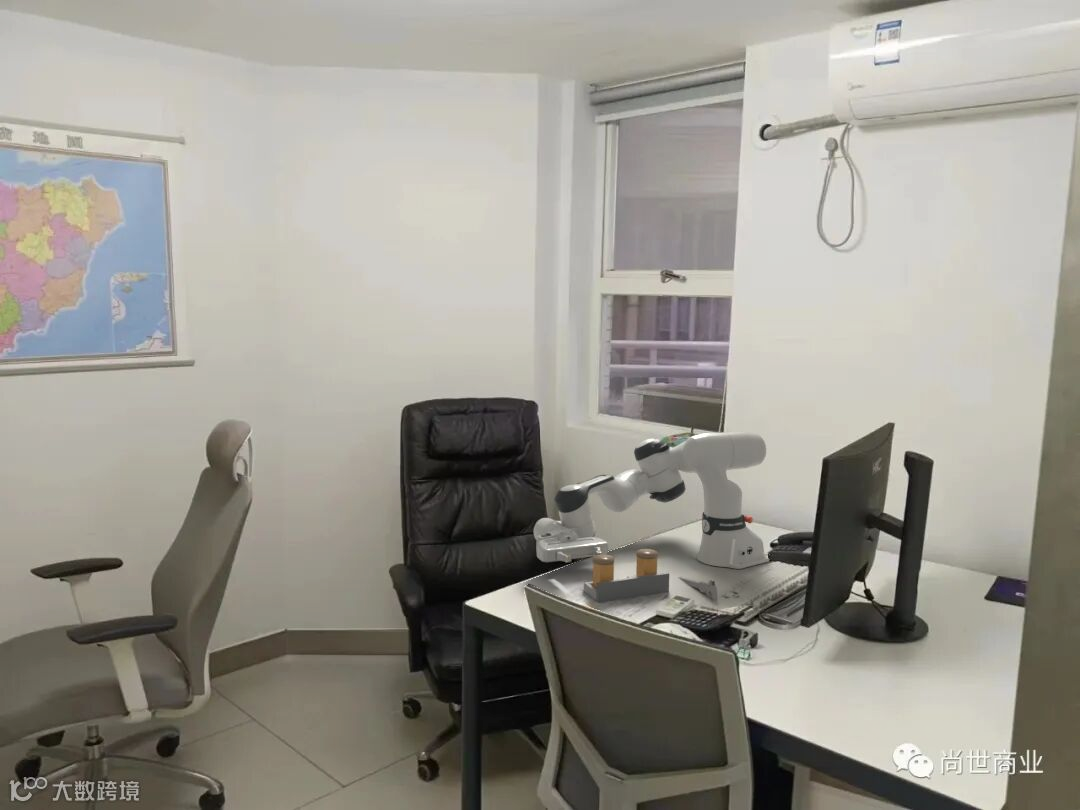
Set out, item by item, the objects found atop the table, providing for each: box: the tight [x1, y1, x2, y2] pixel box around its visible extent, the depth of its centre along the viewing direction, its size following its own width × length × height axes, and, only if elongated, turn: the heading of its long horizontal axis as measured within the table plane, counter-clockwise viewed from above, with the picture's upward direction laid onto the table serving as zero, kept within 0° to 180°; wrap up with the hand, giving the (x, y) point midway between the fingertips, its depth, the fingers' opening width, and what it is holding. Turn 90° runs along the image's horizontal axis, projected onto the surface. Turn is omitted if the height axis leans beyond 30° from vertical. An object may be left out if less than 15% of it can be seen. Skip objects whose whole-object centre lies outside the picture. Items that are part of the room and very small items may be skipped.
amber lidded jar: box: [592, 554, 615, 588], centre depth 211 cm, size 6×6×10 cm
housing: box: [581, 571, 670, 604], centre depth 214 cm, size 21×10×6 cm, turn 112°
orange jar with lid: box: [635, 548, 659, 577], centre depth 216 cm, size 6×6×10 cm
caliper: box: [677, 576, 718, 602], centre depth 217 cm, size 20×1×6 cm, turn 20°
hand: (584, 557), depth 221 cm, fingers open, 8 cm apart
